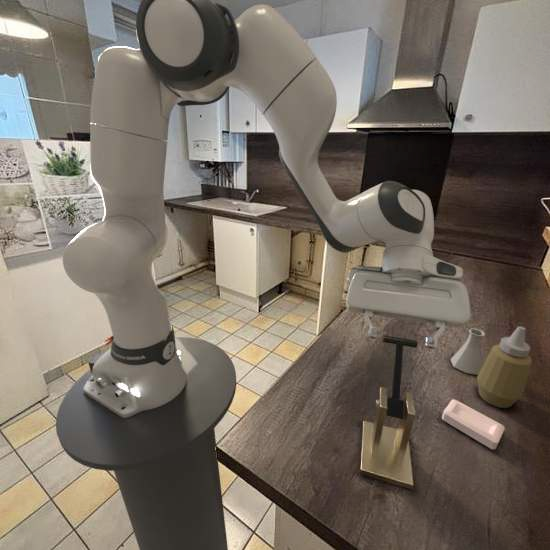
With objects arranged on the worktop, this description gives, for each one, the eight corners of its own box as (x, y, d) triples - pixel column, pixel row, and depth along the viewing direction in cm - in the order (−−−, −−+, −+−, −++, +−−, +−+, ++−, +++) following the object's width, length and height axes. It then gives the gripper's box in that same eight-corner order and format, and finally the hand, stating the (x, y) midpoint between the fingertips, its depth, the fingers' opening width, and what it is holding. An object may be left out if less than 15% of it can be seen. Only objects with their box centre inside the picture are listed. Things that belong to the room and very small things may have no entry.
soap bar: (450, 405, 61) (453, 397, 60) (502, 434, 55) (506, 425, 54) (440, 420, 58) (443, 411, 57) (494, 452, 52) (498, 443, 51)
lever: (382, 336, 53) (384, 333, 51) (415, 342, 52) (418, 339, 50) (375, 412, 49) (377, 413, 46) (411, 421, 47) (414, 422, 45)
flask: (484, 379, 68) (496, 344, 64) (449, 368, 72) (459, 334, 68) (483, 362, 74) (494, 329, 70) (450, 352, 78) (460, 320, 74)
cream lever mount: (362, 424, 57) (371, 373, 52) (406, 436, 55) (420, 383, 50) (360, 474, 48) (370, 418, 43) (412, 490, 46) (429, 433, 41)
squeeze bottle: (493, 381, 68) (518, 315, 61) (527, 409, 61) (560, 337, 53) (463, 387, 66) (486, 319, 59) (495, 416, 59) (525, 342, 52)
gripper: (349, 257, 55) (339, 328, 50) (473, 269, 49) (474, 351, 44) (349, 270, 61) (340, 335, 56) (460, 283, 55) (460, 357, 50)
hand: (400, 343), depth 50 cm, fingers open, 8 cm apart
